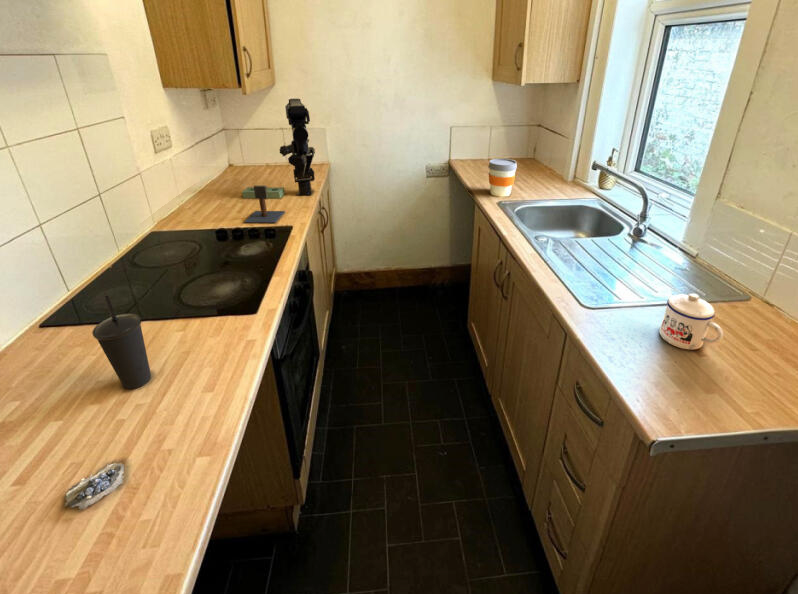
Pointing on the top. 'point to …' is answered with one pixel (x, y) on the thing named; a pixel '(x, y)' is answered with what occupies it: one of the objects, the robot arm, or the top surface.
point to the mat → (258, 218)
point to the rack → (271, 192)
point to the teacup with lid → (688, 322)
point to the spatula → (261, 198)
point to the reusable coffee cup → (501, 176)
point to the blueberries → (95, 486)
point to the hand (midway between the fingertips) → (304, 175)
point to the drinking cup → (124, 347)
